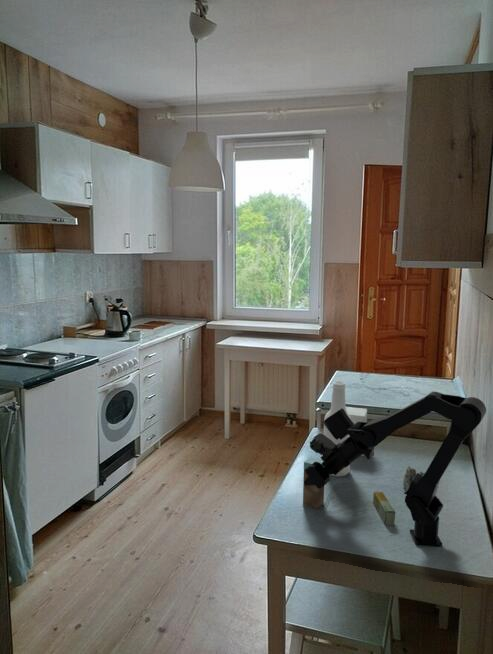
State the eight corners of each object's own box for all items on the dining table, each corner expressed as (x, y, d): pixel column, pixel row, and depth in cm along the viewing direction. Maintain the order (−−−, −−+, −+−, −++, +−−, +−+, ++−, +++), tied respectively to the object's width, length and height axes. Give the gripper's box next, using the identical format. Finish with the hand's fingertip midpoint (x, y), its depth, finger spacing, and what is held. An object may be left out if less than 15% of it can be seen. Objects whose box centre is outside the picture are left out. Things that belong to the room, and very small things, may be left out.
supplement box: (341, 444, 190) (342, 405, 188) (366, 447, 187) (367, 408, 185) (338, 453, 181) (339, 413, 179) (363, 457, 179) (365, 416, 176)
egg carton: (407, 476, 164) (408, 464, 163) (432, 482, 160) (432, 469, 160) (400, 490, 155) (401, 477, 154) (426, 496, 151) (427, 483, 151)
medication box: (394, 526, 135) (396, 512, 134) (384, 526, 135) (385, 512, 134) (381, 503, 147) (382, 490, 146) (372, 503, 147) (373, 490, 146)
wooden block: (323, 503, 146) (325, 460, 144) (316, 509, 143) (318, 465, 141) (309, 498, 149) (311, 456, 147) (302, 505, 145) (304, 461, 143)
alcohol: (334, 463, 173) (337, 377, 168) (355, 472, 167) (358, 383, 162) (316, 470, 167) (319, 382, 163) (338, 480, 161) (341, 388, 156)
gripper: (342, 418, 147) (307, 446, 155) (313, 438, 132) (275, 467, 140) (367, 450, 144) (330, 477, 152) (340, 474, 129) (300, 502, 137)
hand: (309, 480), depth 145 cm, fingers open, 5 cm apart
